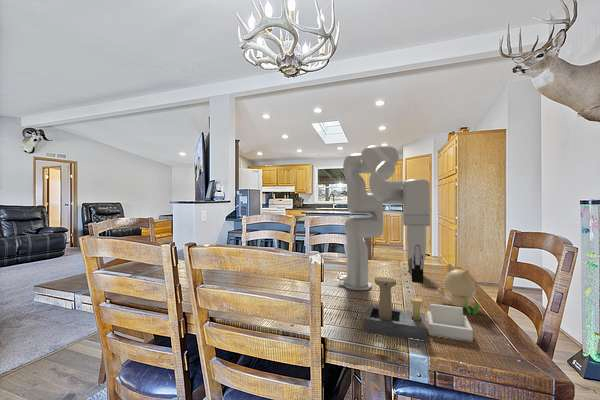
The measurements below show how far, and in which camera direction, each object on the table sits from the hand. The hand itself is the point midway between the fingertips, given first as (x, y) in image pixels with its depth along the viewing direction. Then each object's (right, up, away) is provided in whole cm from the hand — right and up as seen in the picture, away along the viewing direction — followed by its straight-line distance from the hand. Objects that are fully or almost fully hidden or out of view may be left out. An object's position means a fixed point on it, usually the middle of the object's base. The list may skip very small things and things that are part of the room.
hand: (417, 281), depth 83 cm
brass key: (0, -12, +1) cm, 12 cm away
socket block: (-6, -15, +3) cm, 17 cm away
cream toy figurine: (+25, -15, +20) cm, 35 cm away
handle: (-8, -16, +4) cm, 18 cm away
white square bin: (+10, -15, +1) cm, 18 cm away
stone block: (+26, -15, +64) cm, 70 cm away
